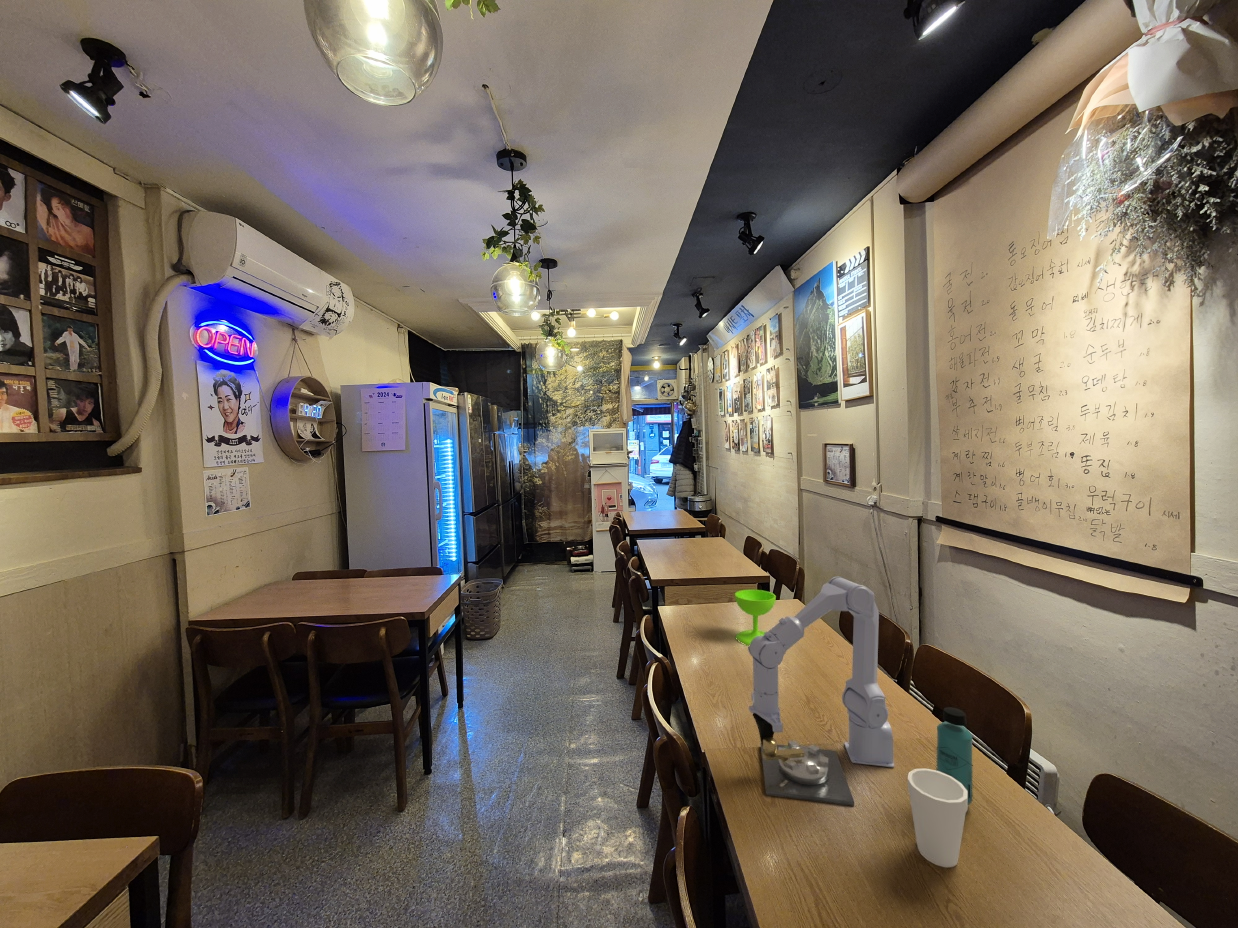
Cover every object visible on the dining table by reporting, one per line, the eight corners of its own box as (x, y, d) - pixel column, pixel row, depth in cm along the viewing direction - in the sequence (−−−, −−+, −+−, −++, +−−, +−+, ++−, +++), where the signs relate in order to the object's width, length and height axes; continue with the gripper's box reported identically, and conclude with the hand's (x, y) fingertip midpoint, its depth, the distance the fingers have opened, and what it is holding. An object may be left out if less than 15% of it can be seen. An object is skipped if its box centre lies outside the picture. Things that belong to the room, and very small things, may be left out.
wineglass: (727, 636, 200) (726, 592, 200) (757, 629, 207) (757, 587, 206) (753, 649, 185) (752, 603, 185) (785, 642, 192) (784, 597, 192)
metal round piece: (813, 752, 120) (813, 723, 120) (838, 782, 109) (837, 749, 109) (755, 757, 118) (754, 727, 118) (773, 788, 107) (773, 755, 107)
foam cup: (944, 832, 95) (944, 767, 95) (981, 873, 86) (981, 800, 86) (897, 834, 95) (896, 769, 95) (929, 875, 86) (928, 803, 86)
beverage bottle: (938, 788, 108) (937, 699, 108) (974, 801, 104) (974, 708, 103) (934, 804, 103) (933, 711, 102) (972, 819, 99) (972, 722, 98)
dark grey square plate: (835, 754, 120) (835, 750, 120) (854, 805, 103) (854, 800, 103) (760, 746, 124) (760, 742, 124) (766, 794, 107) (766, 789, 107)
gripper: (739, 675, 122) (740, 729, 122) (760, 705, 107) (761, 765, 108) (766, 674, 122) (767, 727, 123) (791, 703, 108) (792, 763, 108)
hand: (766, 745), depth 115 cm, fingers closed
